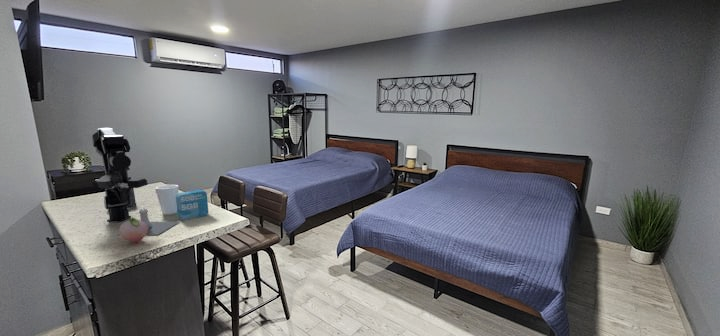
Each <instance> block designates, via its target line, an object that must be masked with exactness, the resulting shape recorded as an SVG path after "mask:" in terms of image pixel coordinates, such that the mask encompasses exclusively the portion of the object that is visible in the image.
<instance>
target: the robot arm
mask: <svg viewBox="0 0 720 336" xmlns="http://www.w3.org/2000/svg"><path fill="white" fill-rule="evenodd" d="M91 143H92V147H93V148H95V152H96V153H97V154H99V156H101V159H102V164H103V168H104V172H105V174H103V176H101V177H100V178H99V179H95V180H93V181H92V183H91V185H92V189H95V188H97V189H107V190H106V193H105V192H104V194H105V195H104V196H103V204H104V209H106V210H107V211H108V215H109V216H108V217H109V219H107V220H106V222H123V221H125V220H128V219H130V218H132V215H130V211H129V209H128V208H129V207H127V205H130V204H131V202H130V195H129V192H130V190H131V188H133V189H140V188H142V187H144V186H147V185H148V180H147V179H146V178H139V177H138V178H135V179H134V178H133V179H132V176H129V174H128V171H130V170H131V169H130V166H131V164H132V160H131V158H130V157H129V156H127V155H126V153H130V152H131V151H130V150H131V146H130V142H129V140H128V139H127V138H126V137H125V136H124V135H123V134H116V132H115V131H114V129H113V128H111V127H99V128H97V131H96V132H95V133H93V134H92V135H91ZM108 204H109V205H108Z"/></svg>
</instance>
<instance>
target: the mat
mask: <svg viewBox="0 0 720 336" xmlns="http://www.w3.org/2000/svg"><path fill="white" fill-rule="evenodd" d="M150 222H151V225H152V226H151V228H148V232H147V234H146V236H160V235H161V234H163V233H165V232H166V231H168V230H169V229H172V228H173V227H175V226H176V225H178V224H180V221H150ZM117 236H120V235H119V233H118V234H117Z"/></svg>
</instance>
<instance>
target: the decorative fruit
mask: <svg viewBox="0 0 720 336" xmlns="http://www.w3.org/2000/svg"><path fill="white" fill-rule="evenodd" d="M147 232H148V226H147V224H146V223H145V222H143V221H141V219H137V218H135V217H133V216H131V217H130V218H127V220H126V221H124V222H122V224H121V225H120V226H119V229H118V234H119V235H118V236H120V238H121V239H122V240H124V241H126V242H131V243H138V242H140V241H142V240H143V239H144V238H145V237H146V236H147V235H146V234H147Z"/></svg>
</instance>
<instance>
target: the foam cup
mask: <svg viewBox="0 0 720 336" xmlns="http://www.w3.org/2000/svg"><path fill="white" fill-rule="evenodd" d="M179 190H180V189H179V185H178V184H173V183H172V184H163V185H158V186H155V193H156V196H157V200H158V203H159V206H160V210H161V213H162V215H166V216H167V215H172V214H177V204H176V195H177V194H178V193H179Z"/></svg>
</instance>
